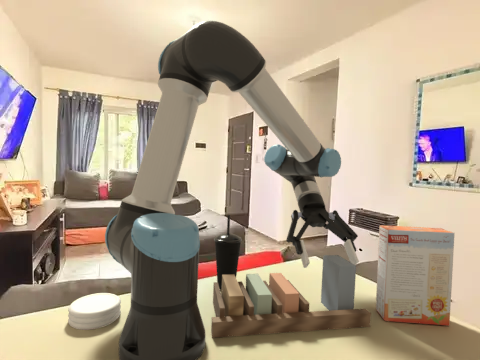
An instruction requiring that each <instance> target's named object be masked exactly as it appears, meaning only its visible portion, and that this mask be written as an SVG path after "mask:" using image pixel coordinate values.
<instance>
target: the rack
mask: <svg viewBox="0 0 480 360" xmlns="http://www.w3.org/2000/svg"><path fill="white" fill-rule="evenodd" d="M287 280H288V281H289V282H290V284H291V285H292V286H293V287H294V288H295V289H296V290H297V291H298V293H299V307H298V312H295V313H282V304H281V302H280V301H279V299H278V298H277V297H276V295H275V294H274V292H273V291H272V289H271V288H270V287H269V283H268V282H267V281H266V280H263V282H264V283H265V285H266V286H267V288H268V289H269V291H270V292H271V294H272V306H271V314H259V315H254V305H253V303H252V301H251V299H250V297H249V295H248V293H247V291H246V286H245V285H244V283H243V281H237V282H238V284H239V286H240V288H241V290H242V293H243V295H244V305H243V315H242V316H225V307H224V303H223V299H222V296H221V292H222V291H221V289H219V285H218V282H217V281H216V282H215V281H214V282H213V289H212V290H213V291H212V292H213V293H212V305H213V309H214V314H215V315H214V316H212V317H211V325H210V326H211V327H210V328H211V329H210V333H211V334H210V335H211V338H212V339H214V338H227V337H240V336H241V337H243V336H254V335H255V336H256V335H268V334H269V335H270V334H283V333H284V334H285V333H286V334H287V333H299V332H310V331H311V332H312V331H326V330H341V329H342V330H343V329H355V328H369V327H371V319H372V318H371V317H372V312H370V311H369V310H368V309H367V308H354V309H347V310H330V311H329V310H316V311H315V310H313V311H310V302H309V301H308V300H307V299H306V298H305V296H304V295H302V293H300V291H299V290H298V289H297V288H296V287H295V286H294V284H292V283H291V281H290V280H289V279H287Z"/></svg>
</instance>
